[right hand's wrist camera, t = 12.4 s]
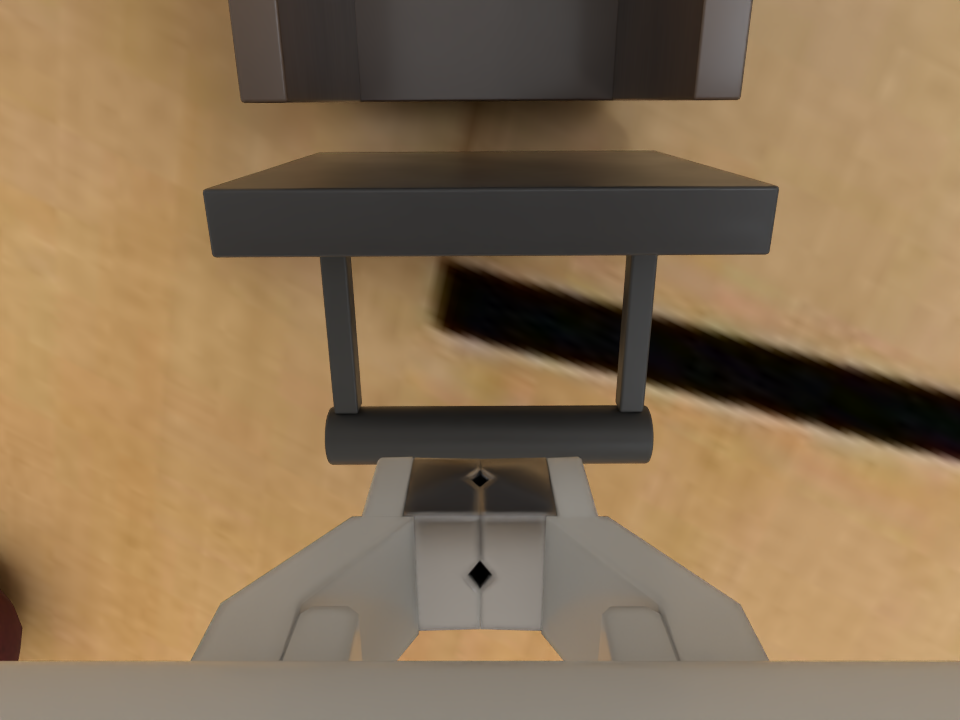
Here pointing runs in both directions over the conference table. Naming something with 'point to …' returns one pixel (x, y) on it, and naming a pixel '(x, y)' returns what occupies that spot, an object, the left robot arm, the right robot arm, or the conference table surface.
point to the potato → (9, 630)
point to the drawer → (489, 183)
